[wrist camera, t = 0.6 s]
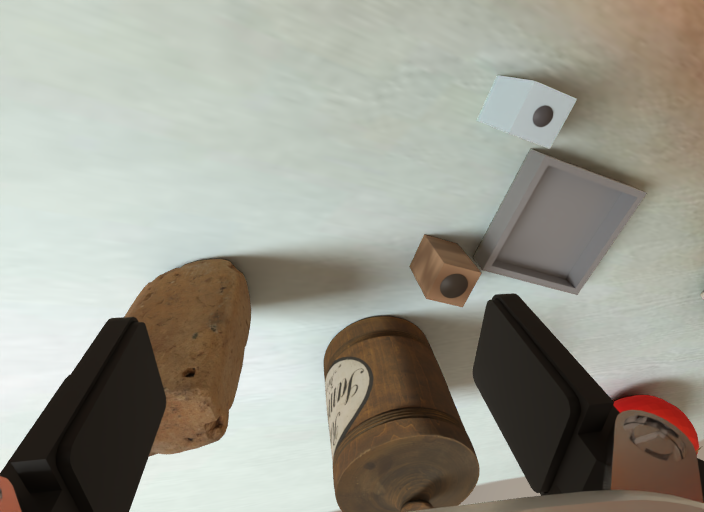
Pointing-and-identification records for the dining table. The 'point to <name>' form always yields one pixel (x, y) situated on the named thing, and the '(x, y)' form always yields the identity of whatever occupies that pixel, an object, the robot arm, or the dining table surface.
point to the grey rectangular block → (526, 109)
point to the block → (196, 348)
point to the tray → (556, 223)
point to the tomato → (660, 413)
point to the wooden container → (393, 422)
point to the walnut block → (444, 271)
